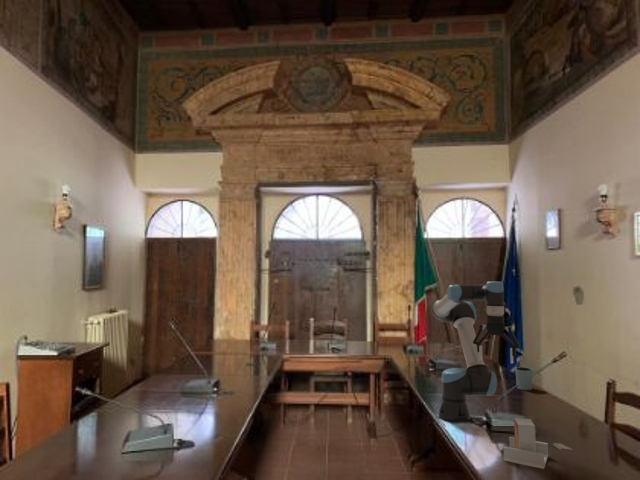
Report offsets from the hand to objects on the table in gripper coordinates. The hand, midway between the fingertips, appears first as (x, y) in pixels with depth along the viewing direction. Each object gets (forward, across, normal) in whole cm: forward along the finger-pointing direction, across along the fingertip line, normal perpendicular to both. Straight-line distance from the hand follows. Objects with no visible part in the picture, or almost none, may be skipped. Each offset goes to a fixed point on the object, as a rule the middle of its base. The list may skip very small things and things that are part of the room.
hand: (496, 361), depth 210 cm
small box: (+30, +16, -27) cm, 43 cm away
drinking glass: (+33, -1, +86) cm, 92 cm away
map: (+31, +32, -11) cm, 46 cm away
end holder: (+31, +16, -27) cm, 44 cm away
